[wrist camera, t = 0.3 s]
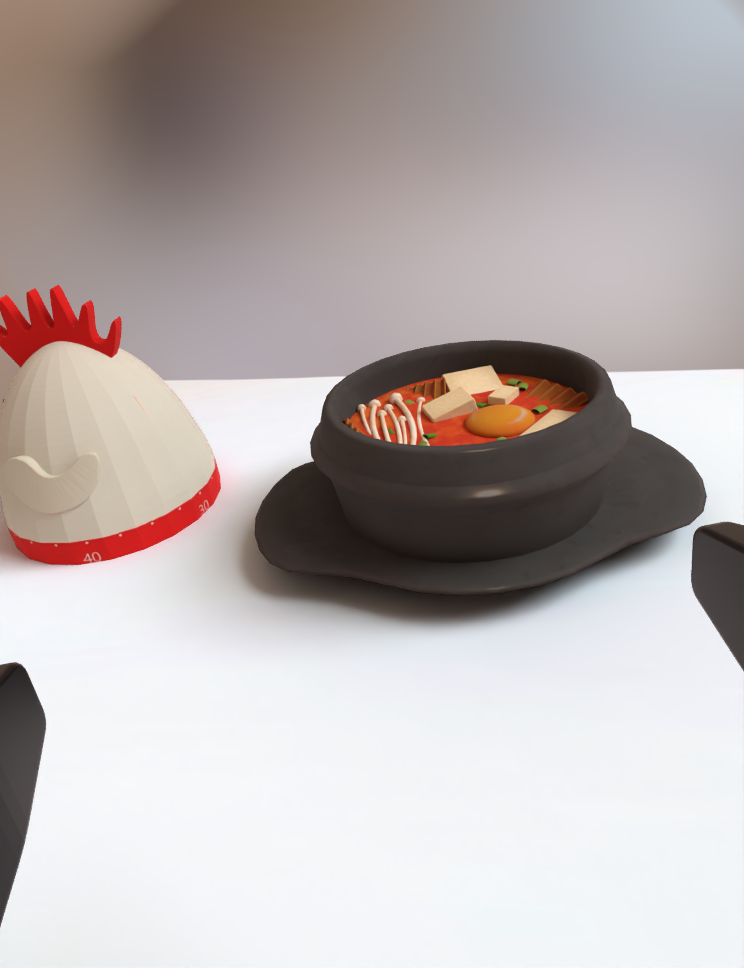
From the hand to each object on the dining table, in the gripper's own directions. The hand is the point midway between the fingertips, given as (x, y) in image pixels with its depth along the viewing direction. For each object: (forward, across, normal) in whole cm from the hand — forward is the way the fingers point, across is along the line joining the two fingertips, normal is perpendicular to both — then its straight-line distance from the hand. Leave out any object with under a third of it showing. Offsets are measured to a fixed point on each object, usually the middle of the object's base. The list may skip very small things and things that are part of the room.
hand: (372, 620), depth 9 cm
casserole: (+28, -8, +14) cm, 32 cm away
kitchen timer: (+38, +15, +13) cm, 43 cm away
